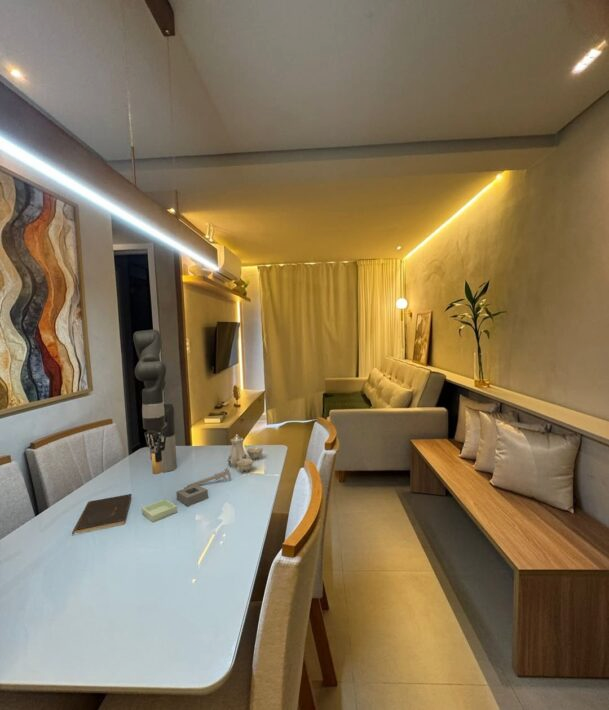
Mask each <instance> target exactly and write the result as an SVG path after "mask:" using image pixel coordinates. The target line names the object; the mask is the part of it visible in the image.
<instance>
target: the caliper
mask: <svg viewBox="0 0 609 710" xmlns="http://www.w3.org/2000/svg"><path fill="white" fill-rule="evenodd" d="M226 476H227V477H228V480H229V481H231V480H232V479H231V472H230V470H229V469H228V468H227V467H226V468H224V469H223V470H222V471H220V472H217V473H215V474H213V475H211V476H208V477H205V478H203V479H201V480H200V479H199V480H197V481H194V482H191V483H189V484H186V486H184V487H183V489H185V488H187V487H190V486H193V485H196V484H197V485H199V486H201V485H202V484H206V483H208V482H210V481H214V480H215V481H218V480H221V478H223V480H224V481H225V482H227V481H228V480H227V477H226Z"/></svg>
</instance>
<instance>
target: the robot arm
mask: <svg viewBox="0 0 609 710" xmlns="http://www.w3.org/2000/svg"><path fill="white" fill-rule="evenodd" d="M132 338H133V343H134V344H133V345H134V348H135V352H136V355H137V357H138V362H137V364H136V366H135V368H134V375H135V378H136V379H137V380H138V381H140V382H143V385H144V388H143V389H142V390H141V399H142V403H141V404H142V406H141V407H142V409H141V412H142V429H144V430H146V431H144V434H143V435H144V438H145V443H146V448H148V450H149V451H150V460H151V461H152V456H151V449H153V448H154V450H155V462H161V467H162V472H161V473H167V472H171V471H174V470H176V469H177V466H178V465H177V448H176V433H175V430H176V429H175V407H174V405H173V404H171V403H164V395H163V394H164V392H163V391H164V389H165V386H166V380H165V379H166V375H167V365H166V364H165V363H164V361H162V360H161V357H160V353H161V349H162V337H161V334H160V332H159V331H158V329H146V330H138V331H135V332H134V333H133V336H132Z"/></svg>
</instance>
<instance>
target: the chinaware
mask: <svg viewBox="0 0 609 710" xmlns="http://www.w3.org/2000/svg"><path fill="white" fill-rule="evenodd" d="M230 442H231V451H230V454H229V455H228V458H227V463H228V465H229V467H230V468H232V469H236V472H237V473H241V474H242V473H244V474H248V473H249V472H250V470H251V469H252V466H253V463H255V460H252V459H257V458H258V459H260V457H261V456H262V453H263V450H264V449H263V447H256V446H254V447H253V448H248V449H247V451H245V450H244V446H243V445H244V444H243V443H244V438H243V437H240V436H239V434H237V433H236V435H235V436H234V437H233V438H231V439H230ZM249 457H250V458H249ZM248 471H249V472H248Z"/></svg>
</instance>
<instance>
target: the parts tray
mask: <svg viewBox="0 0 609 710" xmlns="http://www.w3.org/2000/svg"><path fill="white" fill-rule="evenodd" d="M177 513H178V506H177V505H176V504H174V503H172V502H171V501H169V500H168V499H167V498H165V499H162V500H160V501H156V502H154V503H151V504H149V505H146V506H144V507H141V515H142V516H144V517H145V518H146V519H147V520H149V521H150V522H151V523H155V522H158V521H160V520H162V519H165V518H167V517H169V516H172V515H176V514H177Z"/></svg>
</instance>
